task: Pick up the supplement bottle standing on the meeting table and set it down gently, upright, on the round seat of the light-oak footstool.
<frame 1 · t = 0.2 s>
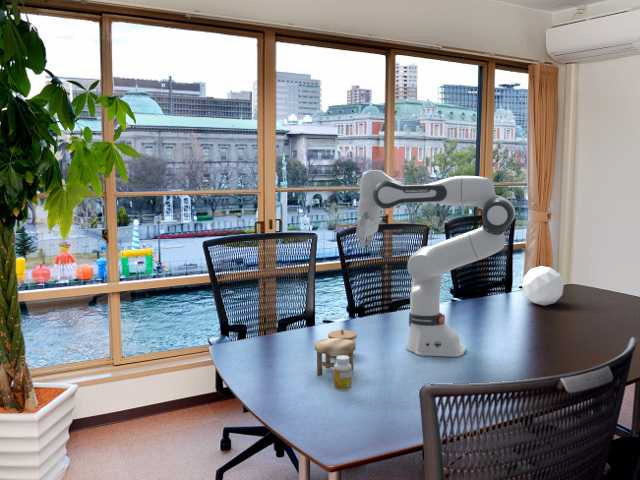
hand: (365, 246, 238), 39 cm above the table, tool pointing down, fingers open, 8 cm apart
lidded jar: (342, 354, 230), on the table
supplement bottle: (342, 388, 195), on the table
stool: (335, 372, 210), on the table
geometric polyhedron: (542, 304, 304), on the table
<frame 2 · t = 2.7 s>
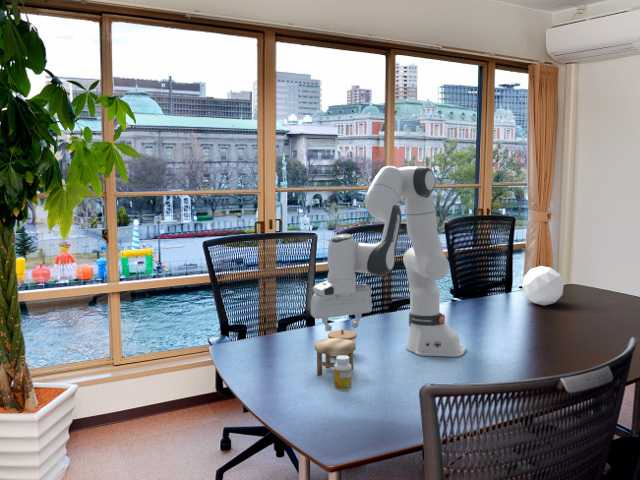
hand: (341, 329, 193), 19 cm above the table, tool pointing down, fingers open, 8 cm apart
nothing on the table moved.
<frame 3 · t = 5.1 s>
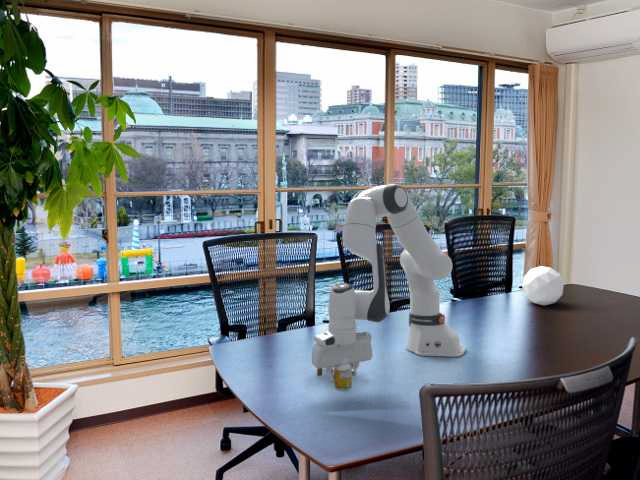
hand: (342, 377, 195), 4 cm above the table, tool pointing down, fingers closed on supplement bottle, 6 cm apart
supplement bottle: (342, 388, 195), on the table, touching gripper
everything else where it was.
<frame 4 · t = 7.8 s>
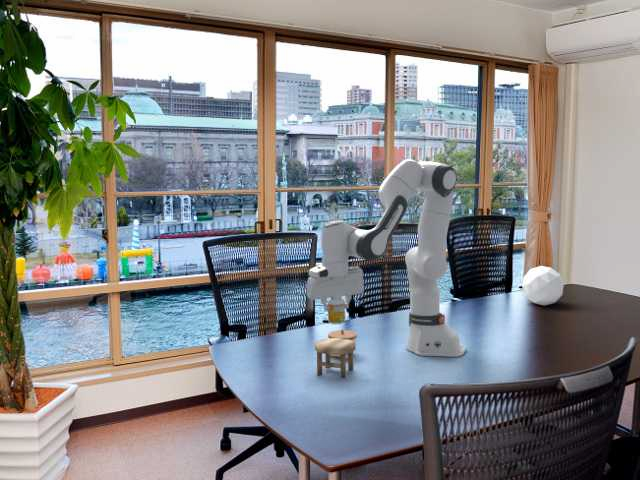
hand: (336, 309, 206), 22 cm above the table, tool pointing down, fingers closed on supplement bottle, 6 cm apart
supplement bottle: (336, 323, 206), point 18 cm above the table, touching gripper
everything else where it was.
when the fingers open (15 cm above the table, at t = 10.5 s): supplement bottle stays where it is, resting on stool.
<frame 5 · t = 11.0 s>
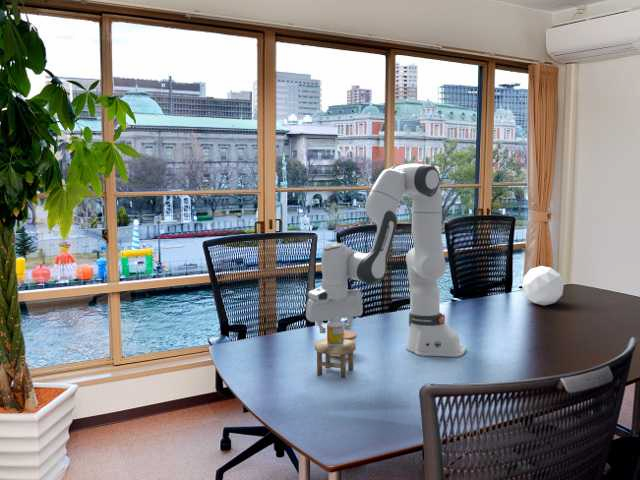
hand: (335, 331, 208), 15 cm above the table, tool pointing down, fingers open, 8 cm apart
supplement bottle: (335, 344, 208), point 10 cm above the table, touching stool
everything else where it was.
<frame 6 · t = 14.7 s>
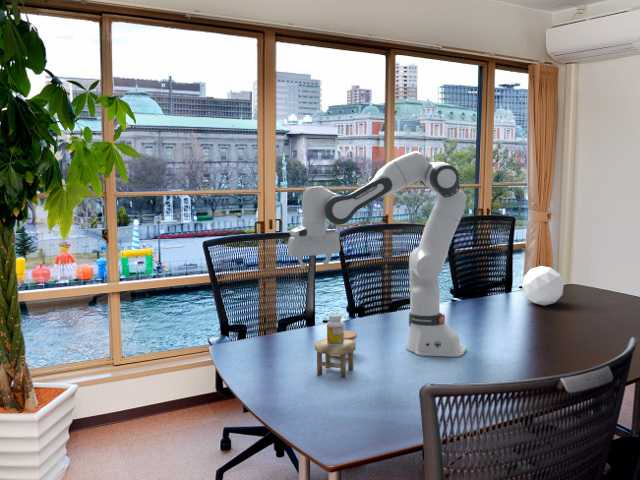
hand: (314, 266, 227), 33 cm above the table, tool pointing down, fingers open, 8 cm apart
nothing on the table moved.
at the end: supplement bottle inside the target area on the stool (0.1 cm from its centre), point 9.8 cm above the stool's base; supplement bottle tilted 0°; the gripper is holding nothing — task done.
